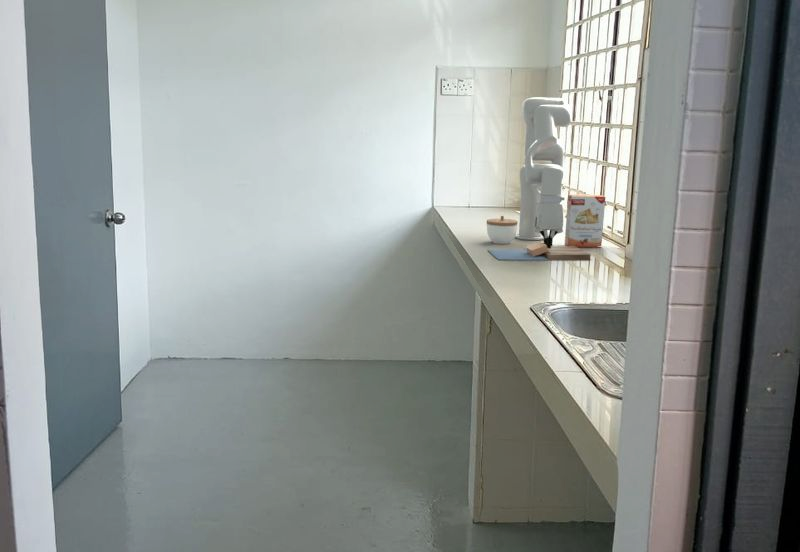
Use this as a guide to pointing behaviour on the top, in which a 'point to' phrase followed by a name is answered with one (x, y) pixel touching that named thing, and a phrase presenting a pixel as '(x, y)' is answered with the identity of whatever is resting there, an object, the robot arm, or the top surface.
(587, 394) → the top surface
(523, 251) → the mat
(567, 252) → the board
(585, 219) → the cracker box
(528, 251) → the block
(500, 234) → the lidded bowl
